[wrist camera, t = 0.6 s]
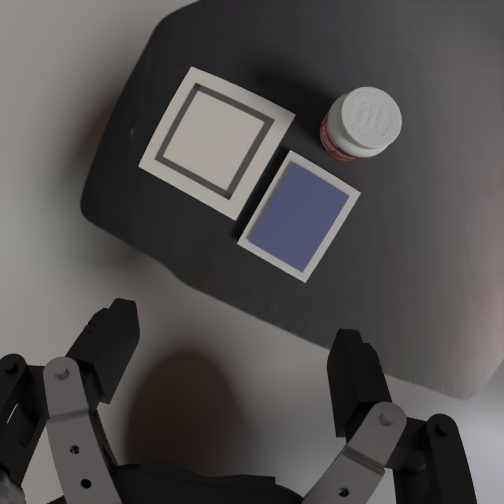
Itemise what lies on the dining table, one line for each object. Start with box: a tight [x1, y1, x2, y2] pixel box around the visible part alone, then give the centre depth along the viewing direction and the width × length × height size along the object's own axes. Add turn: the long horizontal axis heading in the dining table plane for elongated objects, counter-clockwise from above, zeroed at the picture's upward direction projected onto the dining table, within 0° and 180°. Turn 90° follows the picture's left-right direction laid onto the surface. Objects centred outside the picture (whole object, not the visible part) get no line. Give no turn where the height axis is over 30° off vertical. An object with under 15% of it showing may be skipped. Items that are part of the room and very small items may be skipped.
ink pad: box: [237, 150, 361, 282], centre depth 34 cm, size 12×9×2 cm
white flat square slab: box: [139, 67, 296, 220], centre depth 33 cm, size 14×14×1 cm
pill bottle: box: [320, 87, 402, 161], centre depth 26 cm, size 6×6×11 cm
